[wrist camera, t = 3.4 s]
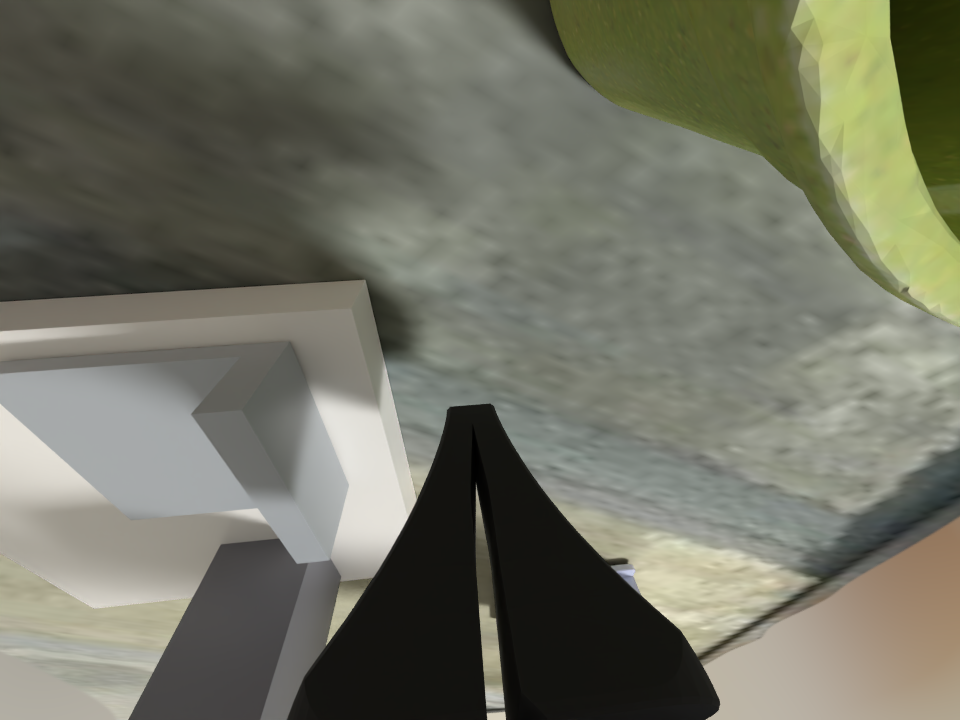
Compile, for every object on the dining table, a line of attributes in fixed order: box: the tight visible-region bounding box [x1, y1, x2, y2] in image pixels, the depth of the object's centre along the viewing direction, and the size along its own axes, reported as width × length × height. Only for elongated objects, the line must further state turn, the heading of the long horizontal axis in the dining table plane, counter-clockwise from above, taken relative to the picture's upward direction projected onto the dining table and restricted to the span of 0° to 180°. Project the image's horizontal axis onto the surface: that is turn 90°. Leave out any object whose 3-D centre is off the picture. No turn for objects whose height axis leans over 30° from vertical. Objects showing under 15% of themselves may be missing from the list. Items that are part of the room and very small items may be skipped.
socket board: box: [0, 280, 417, 609], centre depth 14 cm, size 16×15×2 cm
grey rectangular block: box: [128, 539, 341, 720], centre depth 13 cm, size 4×4×6 cm
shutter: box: [0, 341, 349, 564], centre depth 10 cm, size 7×6×3 cm
